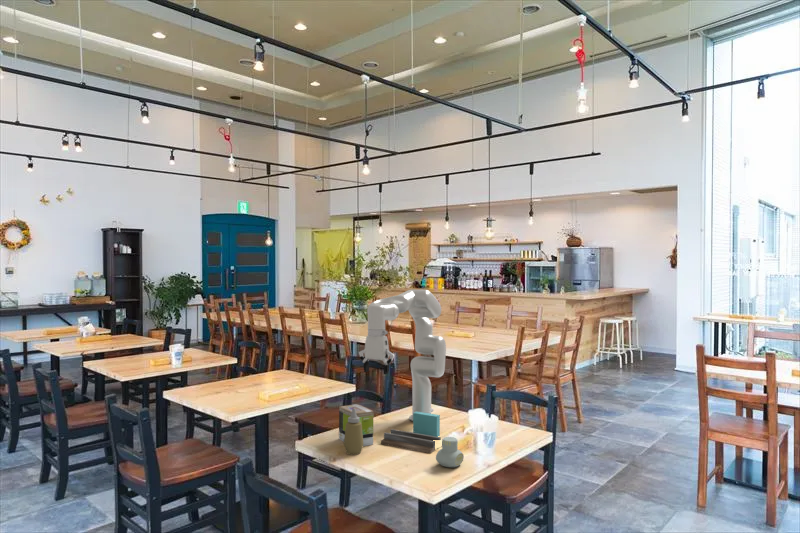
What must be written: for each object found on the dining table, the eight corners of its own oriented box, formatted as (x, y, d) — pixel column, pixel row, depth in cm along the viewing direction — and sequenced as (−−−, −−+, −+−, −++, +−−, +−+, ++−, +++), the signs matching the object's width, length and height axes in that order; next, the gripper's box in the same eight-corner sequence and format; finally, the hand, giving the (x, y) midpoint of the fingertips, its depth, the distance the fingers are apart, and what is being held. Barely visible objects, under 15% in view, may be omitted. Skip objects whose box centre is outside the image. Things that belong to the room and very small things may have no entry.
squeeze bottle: (341, 450, 219) (341, 407, 219) (359, 448, 222) (359, 405, 222) (347, 457, 211) (347, 412, 211) (366, 454, 214) (366, 410, 215)
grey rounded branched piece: (452, 471, 196) (452, 444, 196) (433, 467, 201) (433, 440, 201) (465, 463, 205) (465, 437, 205) (447, 458, 210) (447, 433, 210)
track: (394, 436, 238) (394, 427, 238) (443, 445, 226) (443, 435, 226) (380, 443, 228) (380, 434, 228) (430, 453, 216) (430, 443, 216)
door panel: (416, 433, 243) (416, 411, 244) (439, 437, 238) (439, 415, 238) (413, 434, 241) (413, 412, 241) (436, 439, 235) (436, 416, 235)
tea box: (374, 444, 227) (374, 410, 227) (353, 448, 221) (353, 413, 221) (358, 435, 239) (358, 402, 240) (338, 439, 234) (338, 405, 234)
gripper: (398, 333, 227) (398, 373, 227) (363, 331, 235) (363, 369, 235) (390, 335, 220) (389, 376, 220) (354, 332, 228) (354, 372, 228)
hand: (376, 372), depth 227 cm, fingers open, 9 cm apart
